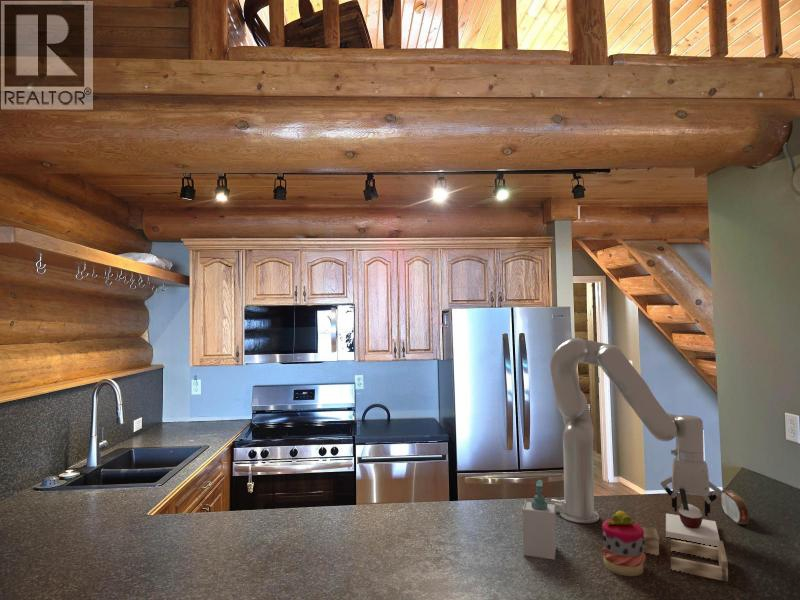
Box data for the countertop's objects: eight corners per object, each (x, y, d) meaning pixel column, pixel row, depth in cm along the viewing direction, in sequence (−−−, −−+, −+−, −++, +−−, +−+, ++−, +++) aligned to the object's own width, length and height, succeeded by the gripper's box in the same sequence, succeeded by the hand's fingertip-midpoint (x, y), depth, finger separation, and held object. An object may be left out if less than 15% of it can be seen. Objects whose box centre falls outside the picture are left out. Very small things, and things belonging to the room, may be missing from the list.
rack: (671, 569, 134) (670, 550, 135) (670, 549, 146) (670, 532, 146) (728, 581, 128) (727, 561, 129) (723, 559, 140) (722, 541, 140)
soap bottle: (556, 546, 148) (555, 480, 149) (554, 560, 140) (554, 490, 141) (525, 542, 151) (525, 477, 152) (523, 555, 143) (522, 487, 143)
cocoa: (695, 522, 162) (694, 483, 163) (710, 529, 156) (710, 489, 157) (669, 523, 160) (668, 484, 161) (683, 530, 154) (683, 490, 155)
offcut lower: (639, 553, 145) (639, 544, 145) (640, 542, 152) (640, 534, 152) (658, 557, 143) (658, 548, 143) (659, 546, 150) (659, 537, 150)
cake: (596, 557, 142) (595, 503, 142) (634, 557, 141) (633, 503, 142) (610, 576, 131) (610, 517, 132) (652, 577, 131) (651, 518, 131)
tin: (750, 529, 161) (749, 502, 161) (739, 528, 162) (738, 501, 162) (729, 511, 176) (728, 486, 176) (719, 510, 176) (718, 486, 177)
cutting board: (665, 537, 154) (665, 531, 154) (666, 519, 168) (666, 513, 168) (720, 547, 148) (719, 540, 148) (715, 527, 162) (715, 521, 162)
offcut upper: (641, 545, 145) (641, 536, 145) (639, 535, 151) (638, 526, 152) (659, 547, 143) (658, 538, 143) (656, 537, 150) (656, 528, 150)
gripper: (658, 455, 160) (659, 511, 159) (723, 462, 151) (724, 522, 151) (658, 449, 166) (659, 503, 166) (721, 456, 158) (722, 513, 157)
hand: (690, 512), depth 158 cm, fingers open, 7 cm apart
